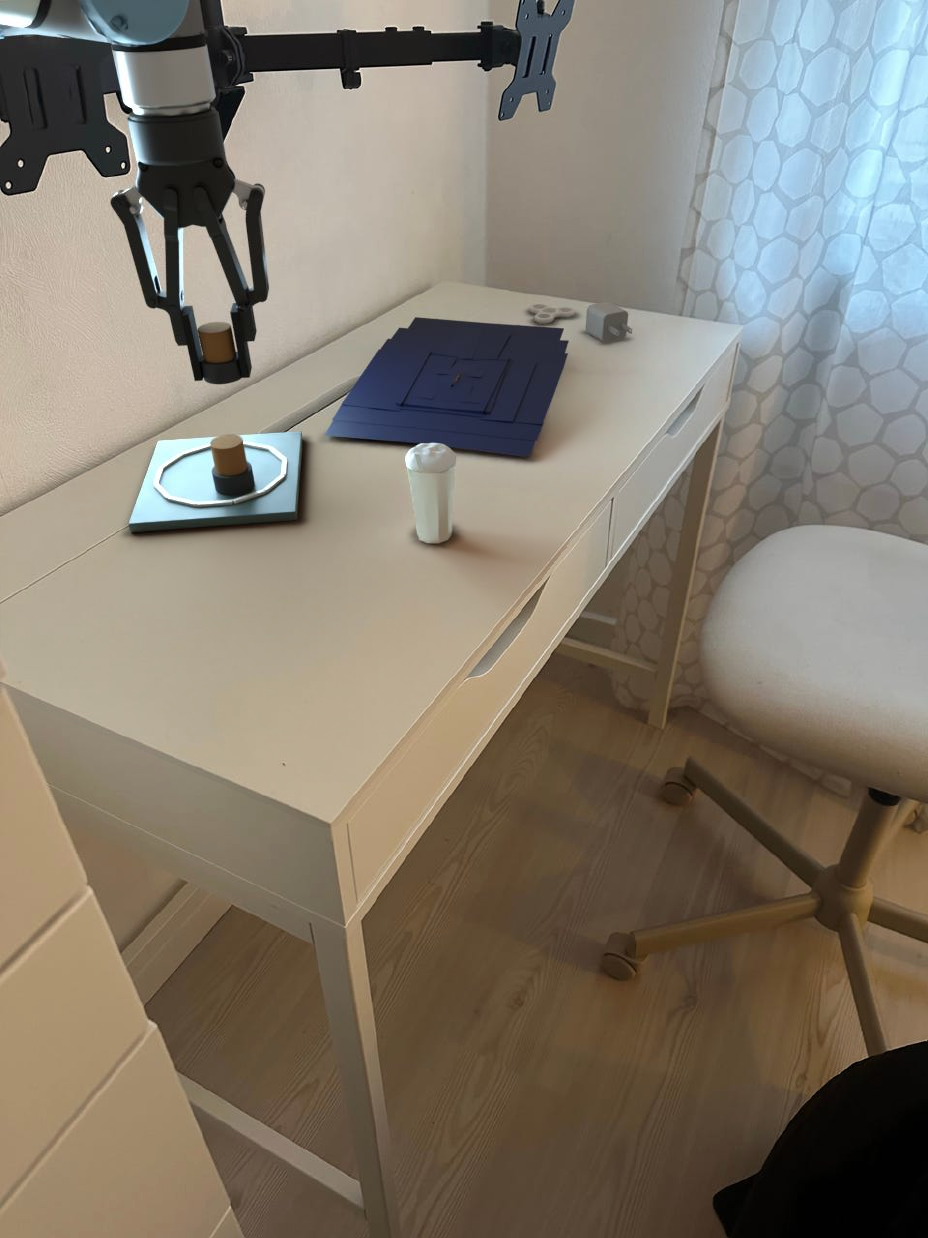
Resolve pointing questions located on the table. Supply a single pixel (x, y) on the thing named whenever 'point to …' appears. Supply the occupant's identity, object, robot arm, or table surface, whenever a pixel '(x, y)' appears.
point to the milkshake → (432, 490)
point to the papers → (457, 386)
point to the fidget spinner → (550, 312)
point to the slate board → (187, 489)
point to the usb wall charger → (607, 322)
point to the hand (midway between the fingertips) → (223, 373)
